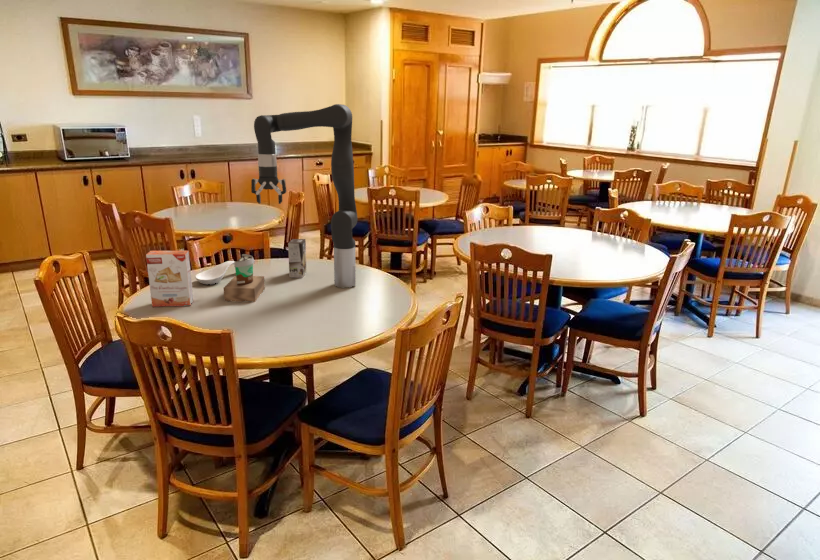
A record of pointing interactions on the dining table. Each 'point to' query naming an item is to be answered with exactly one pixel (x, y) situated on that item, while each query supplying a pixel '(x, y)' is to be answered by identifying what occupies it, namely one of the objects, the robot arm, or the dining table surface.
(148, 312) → the dining table surface
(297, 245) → the coffee box
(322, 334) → the dining table surface
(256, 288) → the walnut block
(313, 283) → the dining table surface
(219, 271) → the spoon rest
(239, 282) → the food container
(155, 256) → the cracker box
